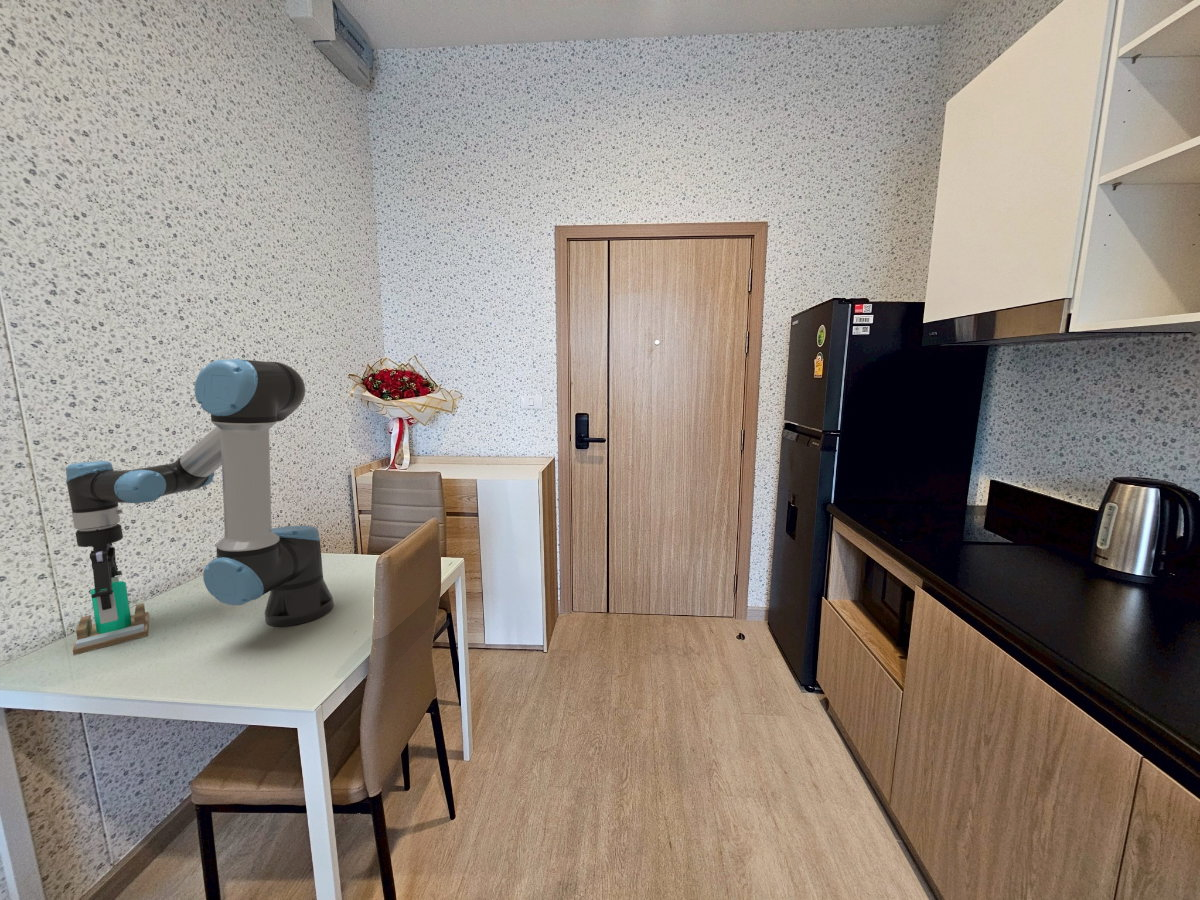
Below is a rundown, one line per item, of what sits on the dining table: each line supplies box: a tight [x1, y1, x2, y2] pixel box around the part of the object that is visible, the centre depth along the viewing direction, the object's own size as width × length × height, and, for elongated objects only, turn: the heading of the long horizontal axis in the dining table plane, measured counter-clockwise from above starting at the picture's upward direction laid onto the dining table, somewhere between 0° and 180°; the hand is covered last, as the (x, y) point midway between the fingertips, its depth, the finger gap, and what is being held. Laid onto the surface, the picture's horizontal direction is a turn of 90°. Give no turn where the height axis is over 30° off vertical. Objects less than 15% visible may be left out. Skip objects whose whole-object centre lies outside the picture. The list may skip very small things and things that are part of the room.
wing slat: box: [75, 624, 144, 648], centre depth 111 cm, size 2×11×1 cm, turn 132°
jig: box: [72, 602, 150, 656], centre depth 114 cm, size 14×12×4 cm
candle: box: [90, 580, 132, 634], centre depth 115 cm, size 6×6×12 cm
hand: (112, 611), depth 115 cm, fingers open, 13 cm apart
